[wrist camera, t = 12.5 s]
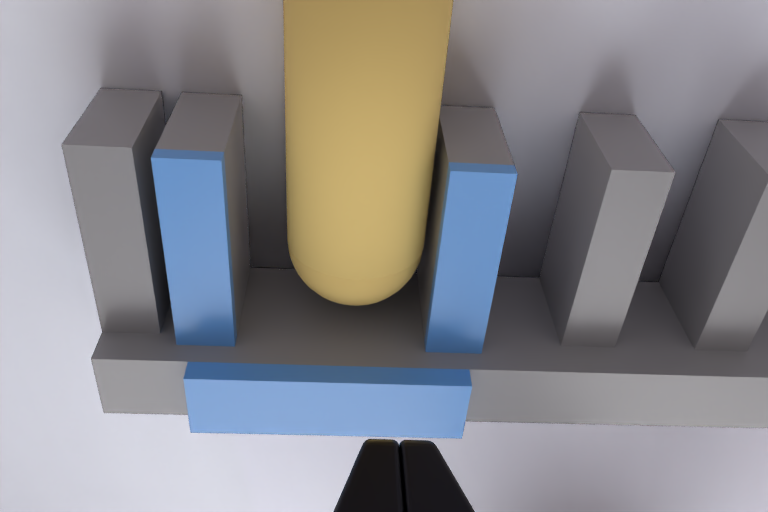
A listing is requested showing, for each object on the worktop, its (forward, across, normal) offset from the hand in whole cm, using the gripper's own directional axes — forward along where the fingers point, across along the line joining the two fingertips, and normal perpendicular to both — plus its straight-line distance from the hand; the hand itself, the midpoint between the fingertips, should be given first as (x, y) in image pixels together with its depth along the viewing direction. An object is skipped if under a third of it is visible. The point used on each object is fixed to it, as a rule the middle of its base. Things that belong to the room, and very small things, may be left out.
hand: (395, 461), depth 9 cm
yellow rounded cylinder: (+12, +1, -1) cm, 12 cm away
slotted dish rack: (+12, -6, +4) cm, 14 cm away
